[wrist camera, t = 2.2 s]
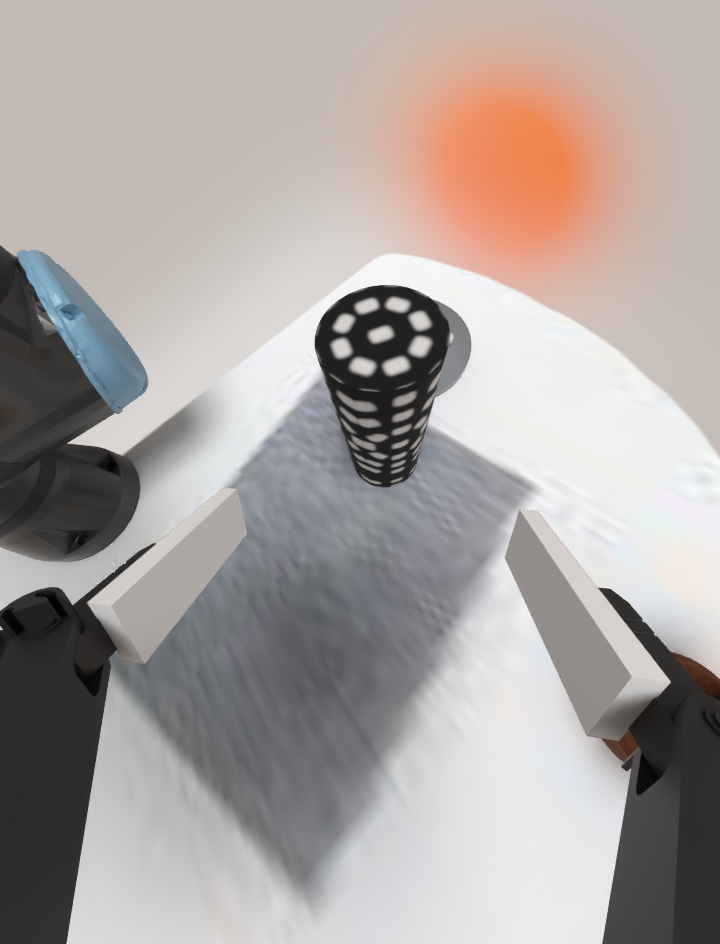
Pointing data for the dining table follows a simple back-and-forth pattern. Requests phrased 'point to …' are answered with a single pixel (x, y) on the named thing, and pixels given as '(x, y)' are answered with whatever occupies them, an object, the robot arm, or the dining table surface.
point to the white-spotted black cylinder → (383, 375)
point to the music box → (701, 677)
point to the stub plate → (454, 350)
